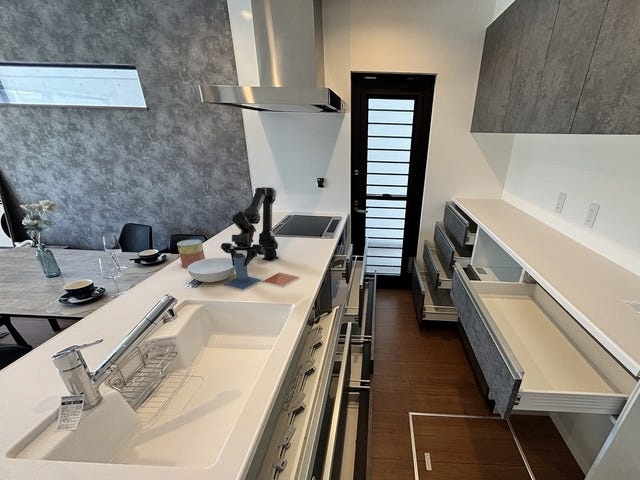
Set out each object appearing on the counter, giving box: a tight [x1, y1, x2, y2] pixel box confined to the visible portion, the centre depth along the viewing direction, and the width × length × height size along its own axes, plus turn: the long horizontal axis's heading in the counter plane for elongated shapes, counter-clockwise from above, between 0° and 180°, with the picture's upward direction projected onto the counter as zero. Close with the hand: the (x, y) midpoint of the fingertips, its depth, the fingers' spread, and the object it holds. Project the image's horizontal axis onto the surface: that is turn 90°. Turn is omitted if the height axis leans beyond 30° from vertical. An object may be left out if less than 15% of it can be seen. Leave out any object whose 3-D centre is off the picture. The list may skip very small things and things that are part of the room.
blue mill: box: [233, 253, 249, 279], centre depth 138 cm, size 5×5×11 cm
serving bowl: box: [186, 257, 236, 283], centre depth 144 cm, size 21×21×7 cm
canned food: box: [176, 238, 206, 269], centre depth 159 cm, size 11×11×12 cm
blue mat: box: [222, 276, 262, 290], centre depth 141 cm, size 12×12×1 cm
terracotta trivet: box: [263, 272, 299, 287], centre depth 146 cm, size 12×12×1 cm
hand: (239, 265), depth 136 cm, fingers closed on blue mill, 5 cm apart
